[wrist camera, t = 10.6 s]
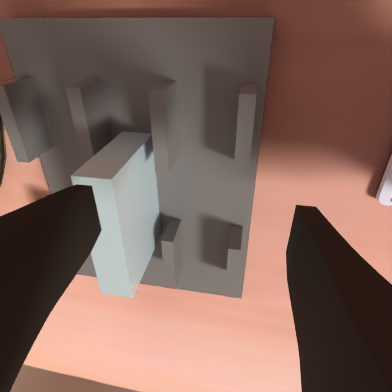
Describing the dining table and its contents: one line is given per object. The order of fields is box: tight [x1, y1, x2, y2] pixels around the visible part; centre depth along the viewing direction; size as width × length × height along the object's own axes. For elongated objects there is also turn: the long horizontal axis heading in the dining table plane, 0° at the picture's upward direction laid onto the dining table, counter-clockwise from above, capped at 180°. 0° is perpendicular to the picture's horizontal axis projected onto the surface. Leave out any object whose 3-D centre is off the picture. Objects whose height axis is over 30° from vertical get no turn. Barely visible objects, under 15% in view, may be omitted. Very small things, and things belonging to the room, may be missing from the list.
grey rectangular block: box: [71, 132, 161, 298], centre depth 18 cm, size 2×8×6 cm, turn 0°
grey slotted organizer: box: [0, 17, 275, 298], centre depth 20 cm, size 15×20×4 cm
